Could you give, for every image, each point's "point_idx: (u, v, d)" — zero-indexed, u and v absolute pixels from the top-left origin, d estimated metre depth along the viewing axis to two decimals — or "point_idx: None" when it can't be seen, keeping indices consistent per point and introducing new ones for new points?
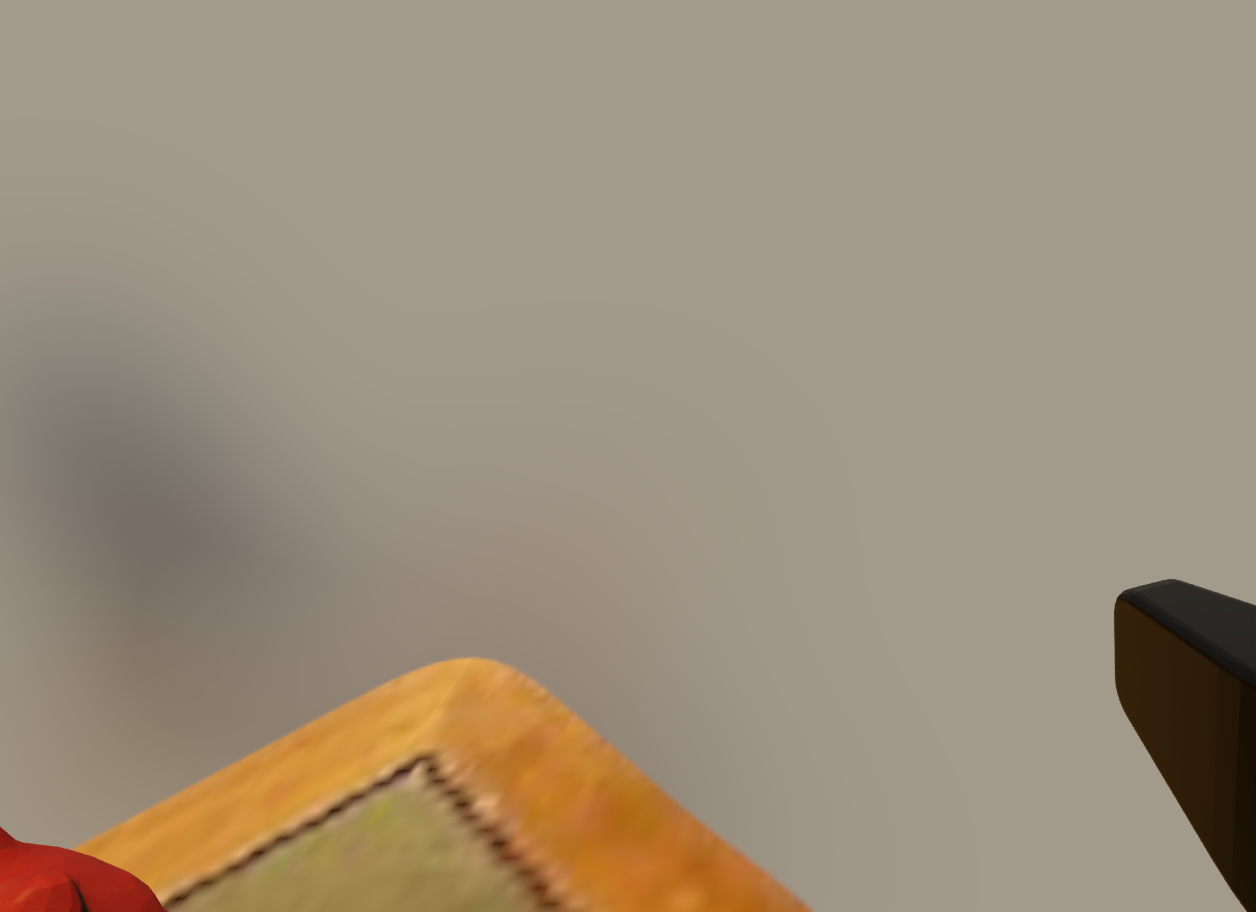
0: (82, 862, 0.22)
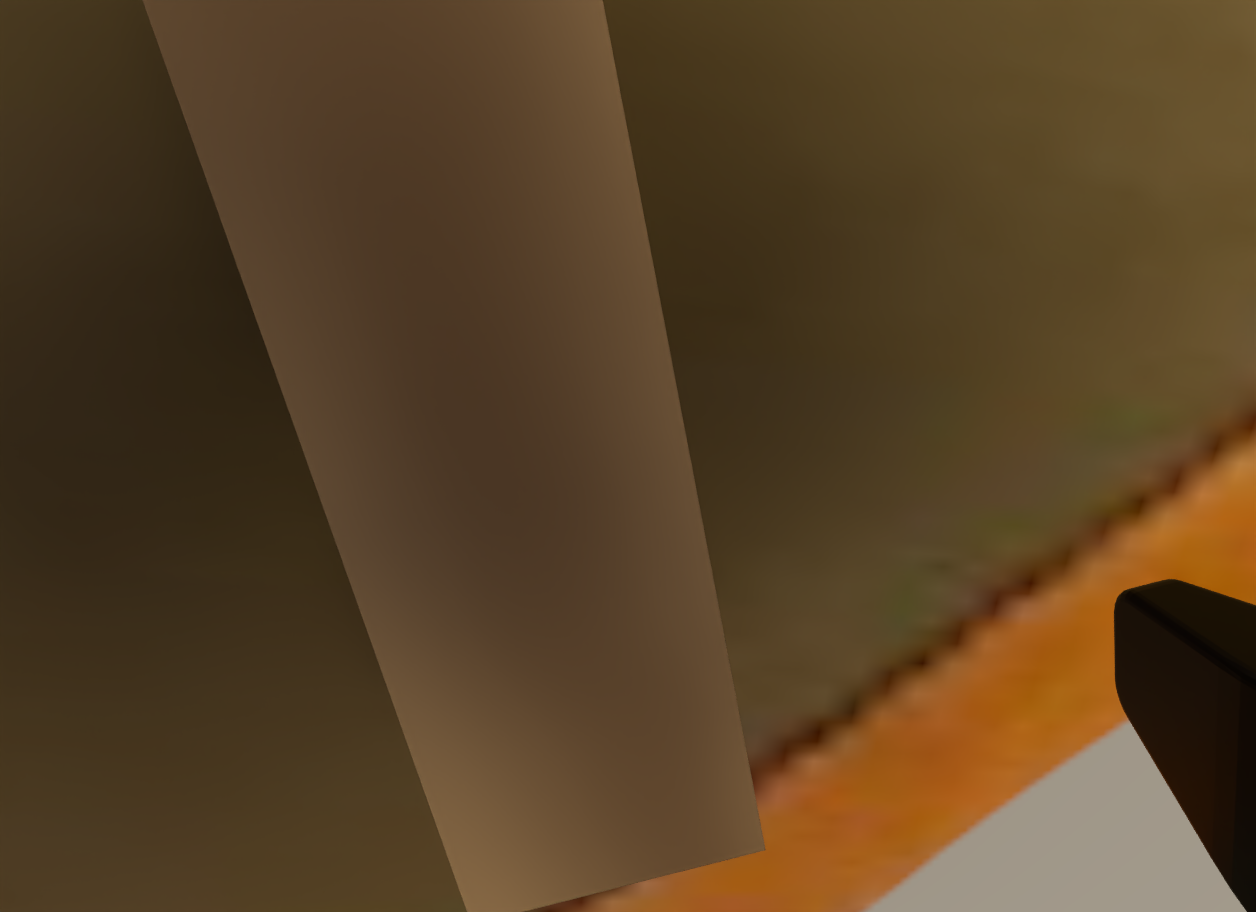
0: None
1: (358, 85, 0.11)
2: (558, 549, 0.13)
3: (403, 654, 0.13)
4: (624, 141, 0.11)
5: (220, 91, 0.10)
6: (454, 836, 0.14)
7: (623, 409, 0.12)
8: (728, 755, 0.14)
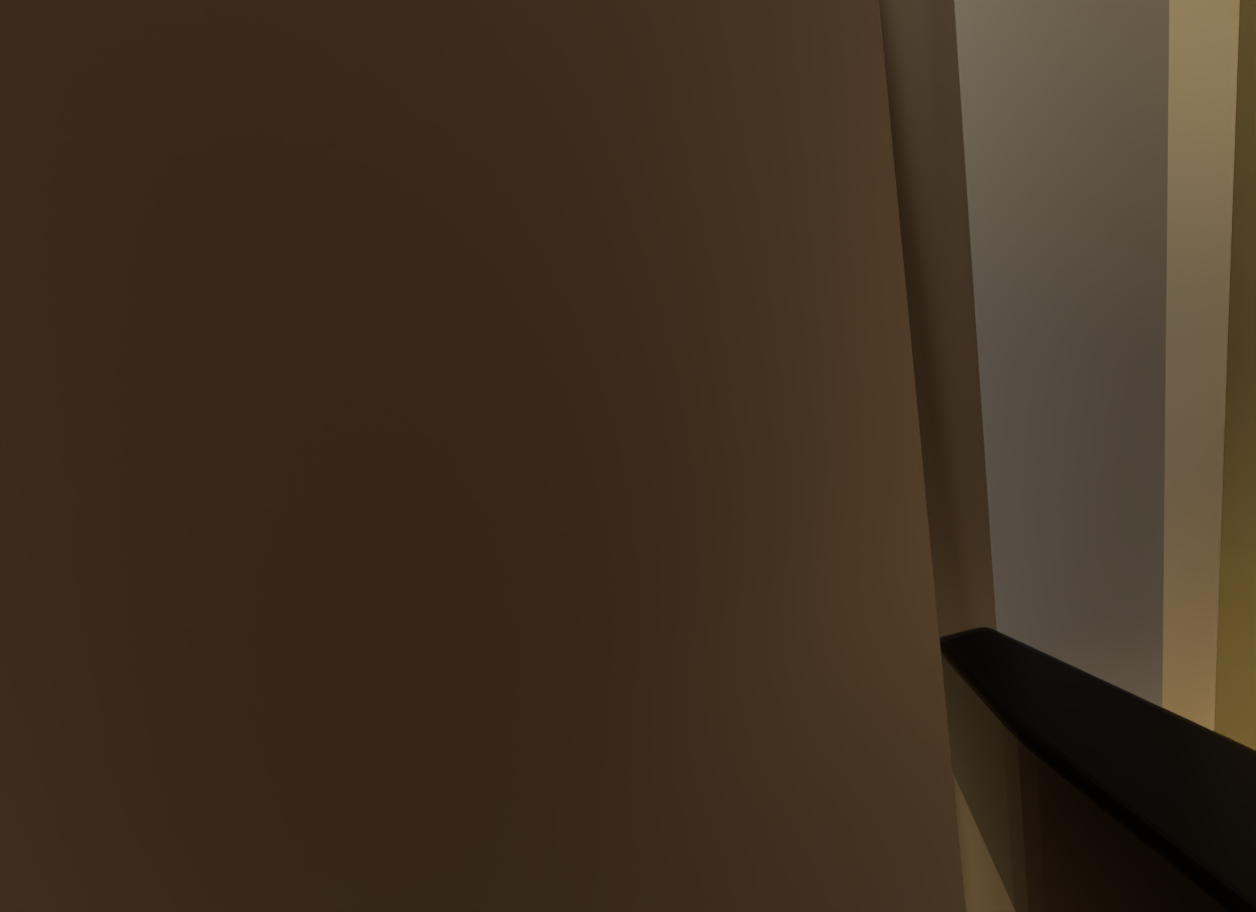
0: None
1: (125, 442, 0.03)
2: None
3: None
4: (913, 546, 0.04)
5: None
6: None
7: None
8: None
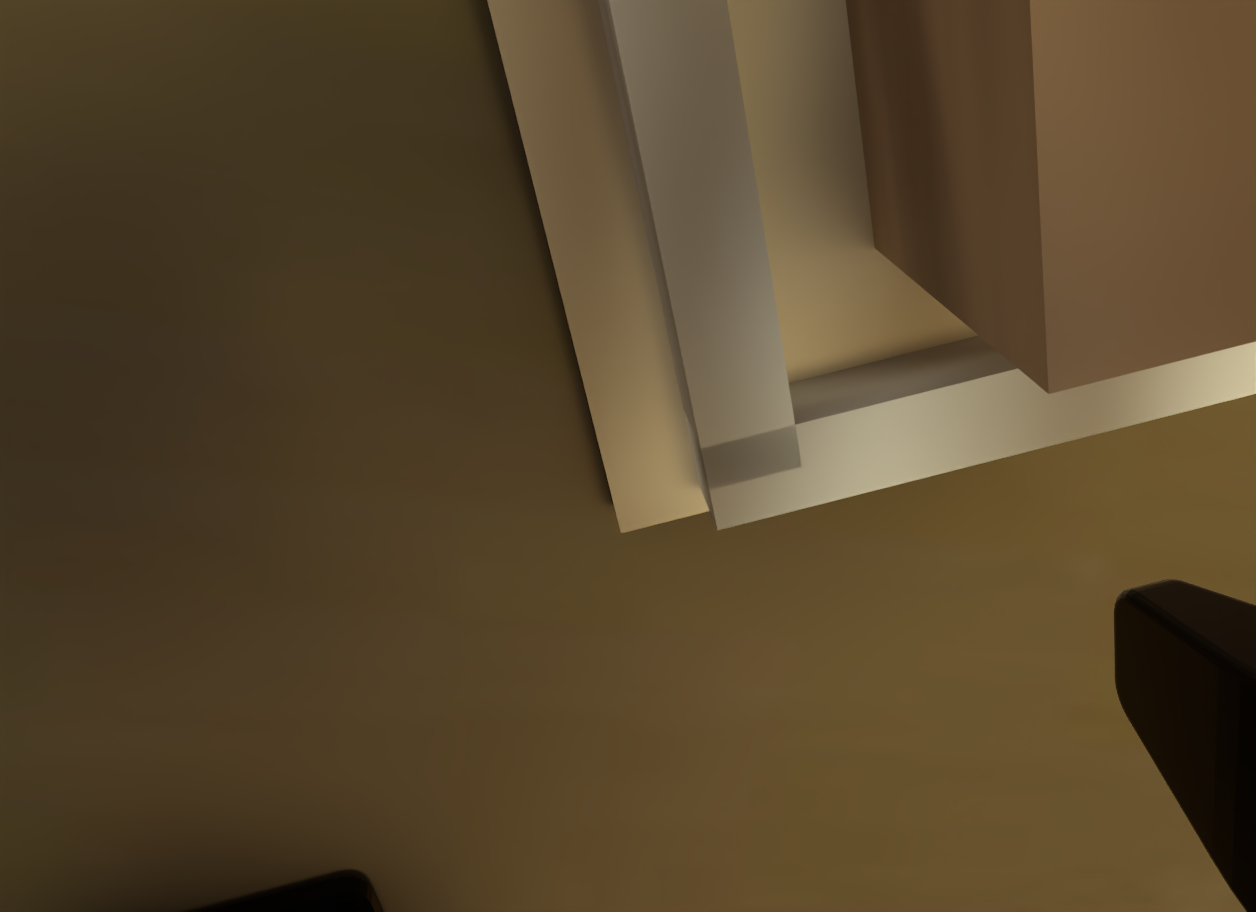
0: None
1: None
2: None
3: None
4: None
5: None
6: (1057, 262, 0.12)
7: None
8: None
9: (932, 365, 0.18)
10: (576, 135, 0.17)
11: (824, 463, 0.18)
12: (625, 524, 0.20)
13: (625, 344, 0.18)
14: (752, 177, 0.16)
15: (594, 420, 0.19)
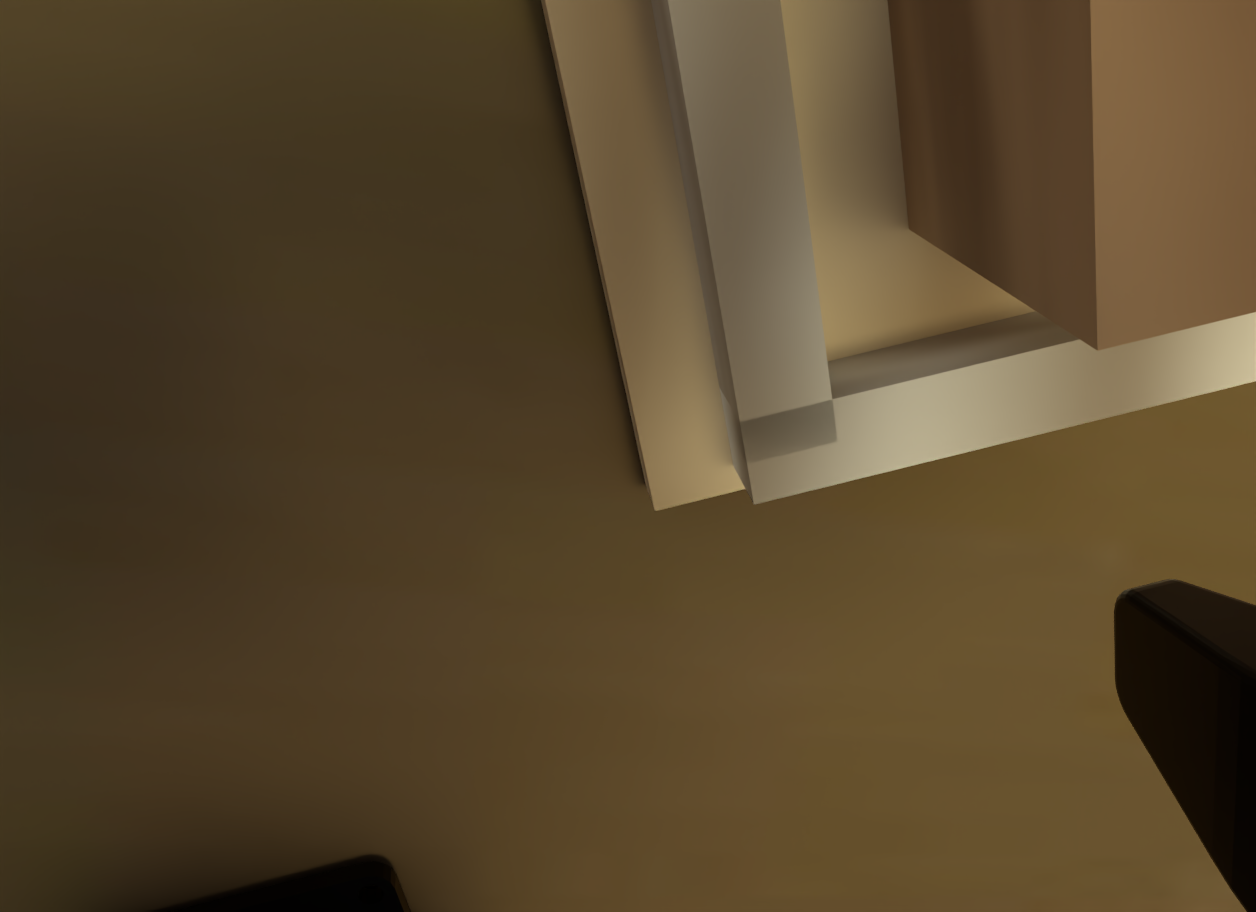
0: None
1: None
2: None
3: None
4: None
5: None
6: (1108, 219, 0.13)
7: None
8: None
9: (964, 345, 0.19)
10: (622, 112, 0.17)
11: (860, 438, 0.18)
12: (659, 502, 0.20)
13: (664, 321, 0.19)
14: (797, 152, 0.16)
15: (632, 397, 0.19)
